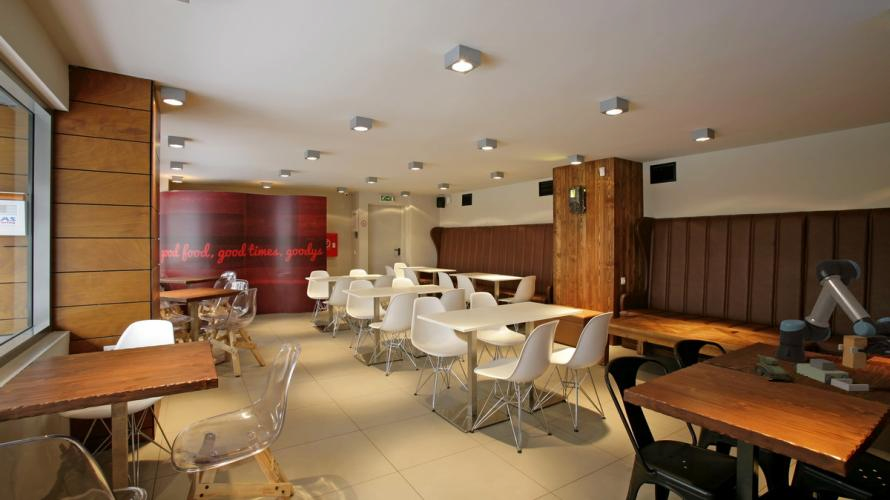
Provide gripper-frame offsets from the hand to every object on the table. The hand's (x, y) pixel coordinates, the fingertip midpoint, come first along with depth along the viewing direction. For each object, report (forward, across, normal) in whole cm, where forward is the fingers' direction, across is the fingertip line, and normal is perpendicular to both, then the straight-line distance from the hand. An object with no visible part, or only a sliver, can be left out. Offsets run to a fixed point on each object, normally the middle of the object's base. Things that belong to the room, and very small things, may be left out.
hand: (845, 348), depth 214 cm
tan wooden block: (-5, 0, -9) cm, 11 cm away
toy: (+25, +17, -20) cm, 36 cm away
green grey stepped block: (-3, +10, -20) cm, 22 cm away
